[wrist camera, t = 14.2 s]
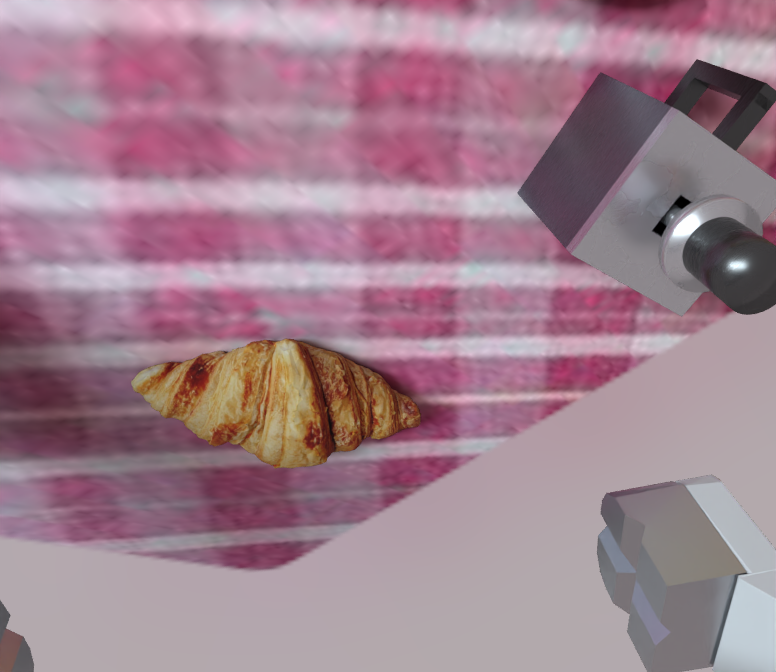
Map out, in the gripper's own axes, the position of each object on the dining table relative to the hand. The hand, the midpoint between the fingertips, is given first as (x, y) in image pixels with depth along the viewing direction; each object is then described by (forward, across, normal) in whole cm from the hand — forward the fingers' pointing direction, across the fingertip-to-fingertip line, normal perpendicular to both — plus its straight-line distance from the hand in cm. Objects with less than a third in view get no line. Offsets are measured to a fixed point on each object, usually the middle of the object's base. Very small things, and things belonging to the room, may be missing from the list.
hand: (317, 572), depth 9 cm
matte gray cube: (+37, +22, -7) cm, 44 cm away
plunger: (+35, +21, -9) cm, 42 cm away
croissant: (+38, -4, -22) cm, 44 cm away
